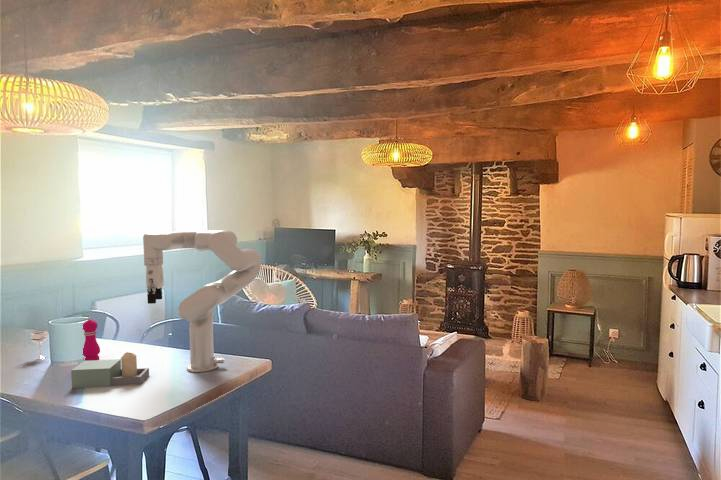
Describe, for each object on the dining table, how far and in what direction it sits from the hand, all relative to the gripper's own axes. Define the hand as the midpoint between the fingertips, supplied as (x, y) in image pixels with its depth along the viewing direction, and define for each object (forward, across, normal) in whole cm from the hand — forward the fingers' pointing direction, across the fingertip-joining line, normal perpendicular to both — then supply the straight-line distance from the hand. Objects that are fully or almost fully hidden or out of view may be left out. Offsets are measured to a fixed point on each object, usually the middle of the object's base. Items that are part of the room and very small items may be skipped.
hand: (155, 301), depth 219 cm
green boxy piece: (+28, -18, +12) cm, 36 cm away
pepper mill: (+28, +12, +32) cm, 45 cm away
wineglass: (+28, +22, +58) cm, 68 cm away
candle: (+28, -18, +6) cm, 33 cm away
